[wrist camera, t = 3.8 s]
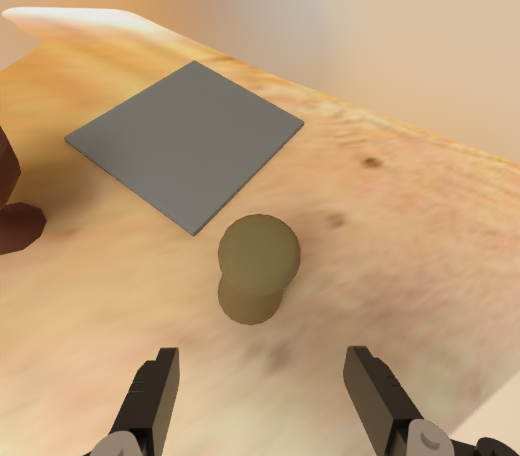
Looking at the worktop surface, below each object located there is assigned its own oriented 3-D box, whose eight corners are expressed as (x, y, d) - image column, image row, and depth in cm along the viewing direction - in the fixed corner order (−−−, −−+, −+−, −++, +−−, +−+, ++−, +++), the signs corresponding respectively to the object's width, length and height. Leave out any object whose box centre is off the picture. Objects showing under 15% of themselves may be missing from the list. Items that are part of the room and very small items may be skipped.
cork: (209, 273, 25) (196, 214, 16) (267, 253, 27) (287, 188, 17) (230, 335, 23) (229, 312, 13) (291, 310, 24) (332, 272, 15)
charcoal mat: (193, 236, 27) (193, 233, 26) (66, 141, 31) (63, 137, 30) (303, 125, 36) (304, 121, 36) (194, 64, 40) (194, 60, 40)
